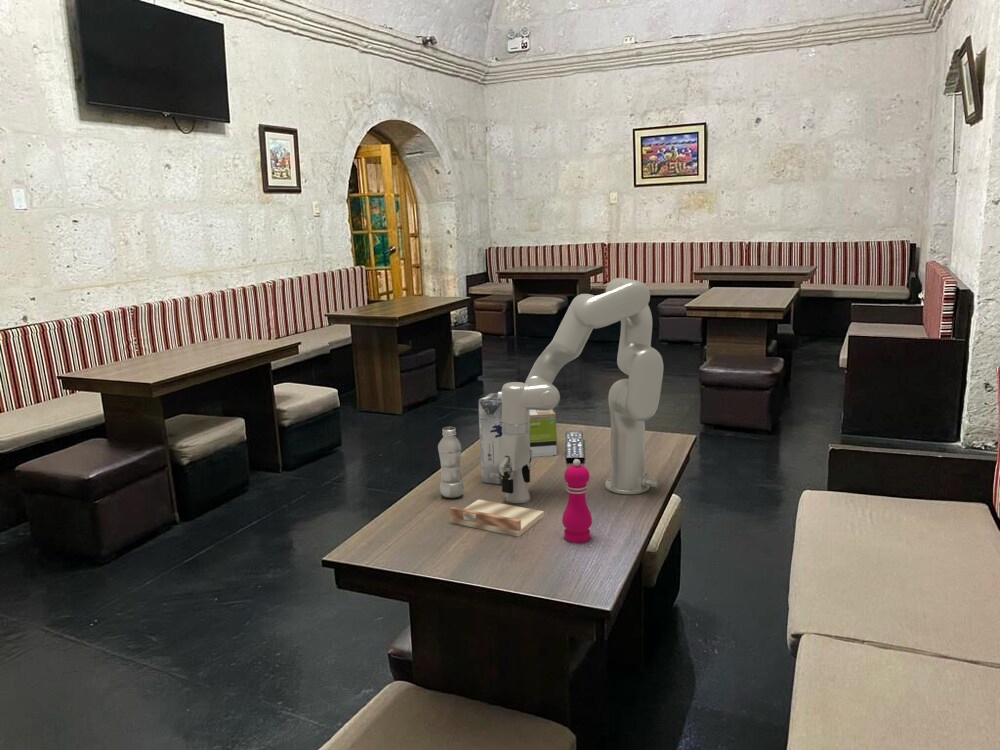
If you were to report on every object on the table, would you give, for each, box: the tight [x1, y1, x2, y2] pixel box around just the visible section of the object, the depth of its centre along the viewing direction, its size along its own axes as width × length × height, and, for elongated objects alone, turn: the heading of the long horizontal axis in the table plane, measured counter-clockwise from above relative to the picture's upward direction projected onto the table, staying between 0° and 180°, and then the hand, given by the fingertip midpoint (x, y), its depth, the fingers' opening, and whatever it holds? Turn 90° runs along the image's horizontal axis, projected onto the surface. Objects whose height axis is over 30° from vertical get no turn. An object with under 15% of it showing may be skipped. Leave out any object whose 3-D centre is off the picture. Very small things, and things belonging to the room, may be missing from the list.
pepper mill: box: [561, 458, 593, 544], centre depth 181 cm, size 7×7×20 cm
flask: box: [505, 467, 531, 504], centre depth 208 cm, size 7×7×10 cm
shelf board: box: [449, 498, 545, 538], centre depth 195 cm, size 20×14×4 cm
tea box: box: [529, 408, 558, 458], centre depth 251 cm, size 15×10×15 cm, turn 6°
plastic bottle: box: [437, 426, 465, 499], centre depth 211 cm, size 6×7×20 cm
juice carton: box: [478, 391, 512, 485], centre depth 223 cm, size 9×10×27 cm
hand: (516, 487), depth 208 cm, fingers open, 9 cm apart
